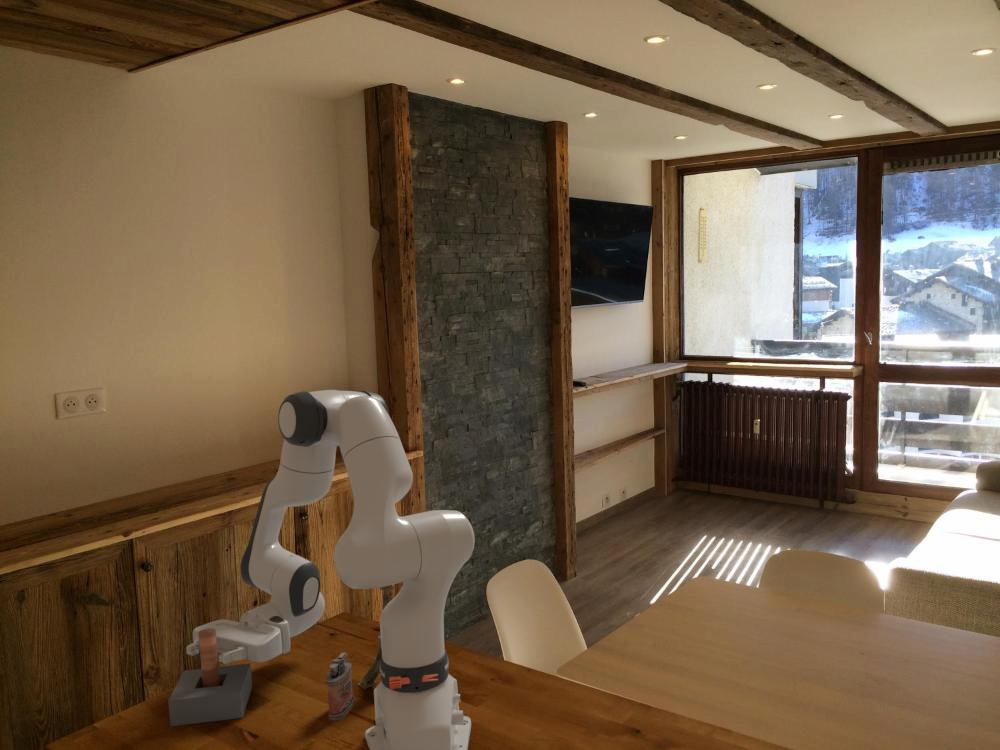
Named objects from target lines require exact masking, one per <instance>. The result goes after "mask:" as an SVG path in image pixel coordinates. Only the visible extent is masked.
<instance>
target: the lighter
mask: <svg viewBox="0 0 1000 750" xmlns="http://www.w3.org/2000/svg"><path fill="white" fill-rule="evenodd" d="M347 660H348V653H346V652H341V653H340V655H339V656H337V658H333V659H332V661H331V664H330V665H329V673H328V674H327V676H326V678H325V683H326V685H327V695H328V696H327V698H328V709H329V710H328V719H329V720H330V719H331V721H339V720H341V719H343V718H344V717H345V716H346V715H347V714H348V713H349V712H350V711H351V710H352V707H353V706H354V704H355V698H354V697H355V696H354V694H353V693H354V692H353V684H352V683H353V682H352V663H351V662H346V661H347Z"/></svg>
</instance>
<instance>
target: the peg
mask: <svg viewBox="0 0 1000 750" xmlns="http://www.w3.org/2000/svg"><path fill="white" fill-rule="evenodd" d="M198 635H199V647H200V650H199V656H200V657H199V658H200V669H201V670H202V681H203V688H205V687H214V686H220V674H219V667H220V666H219V664H220V662H219V652H218V651H217V639H216V629H213V628H208V629H203V630H201V631H199V632H198Z"/></svg>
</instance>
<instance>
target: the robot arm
mask: <svg viewBox="0 0 1000 750" xmlns="http://www.w3.org/2000/svg"><path fill="white" fill-rule="evenodd" d="M389 413H390V412H389V409H388V406H387V403H386V402H385V400H384V398H383V397H382V396H381V395H379V394H378V393H376V392H372V391H367V390H361V391H354V390H337V389H324V390H323V389H322V390H313V391H309V392H308V391H298V392H294V393H292V394H291V393H290V394H289V395H286V397H285V398H284V399H283V400H282V402H281V404H280V407H279V409H278V414H277V415H278V416H277V420H278V421H277V422H278V427H279V432H280V434H281V436H282V437H283V438H284V440H283V444H282V449H281V454H280V459H279V460H280V461H279V466H278V470H277V473H276V475H275V476H273V477H272V478H270V479H269V480H268V482H267V483H266V485H265V487H264V490H263V491H262V494H261V498H260V500H259V505H258V508H257V511H256V516H255V520H254V523H253V527H252V530H251V534H250V537H249V541H248V544H247V545H246V548H245V550H244V553H243V555H242V557H241V559H240V563H239V565H240V566H239V567H240V576H241V578H242V581H243V582H244V583H245V584H246V585H248V586H251V587H253V588H255V589H258V590H261V591H262V592H265V593H267V594H268V595H270V596H271V600H270V601H269V602H267V603H264V604H261V605H259V606H257V607H255V608H253V609H250V610H248V611H245V612H244V613H243V614H242V615H241V617H240V618H239V621H235V620H229V619H222V618H221V619H218V620H214V621H211V622H208V623H204V624H203V625H199V626H197V627H195V628H194V629H193V631H192V642H193V643H191V644H190V643H189V644H188V645H187V646H186V647H185V648H186V649H185V650H186V655H189V656H195V655H198V654H200V647H199V635H198V632H199V631H201V630H203V629H208V628H213V629H216V639H217V651H218V662H219V664H223V665H228V664H230V663H231V662H238V661H243V660H246V661H250V662H254V663H265V662H268V661H271V660H272V659H274V658H277V657H279V656H280V655H284V654H287V653H289V652H290V651H291V638H293V637H296V636H298V635H300V634H302V633H303V632H305V631H307V630H308V629H310V628H311V627H312V626H314V625H315V624H316V623H317V622H319V620H320V619H321V618H322V617H323V615H324V613H325V605H326V604H325V603H326V602H325V598H324V596H323V593H322V592H321V591H320V590H321V573H320V570H319V568H318V566H317V565H316V564H315V563H314V562H312V561H311V560H308V559H307V558H304V557H303V556H301V555H298V554H295V553H293V552H291V551H290V550H287V549H285V548H284V547H283V546H282V545H281V544H280V542H279V536H280V531H281V528H282V524H283V521H284V517H285V514H286V511H287V509H288V508H289V507H290V508H292V507H304V506H307V505H310V504H311V505H312V504H314V503H317V502H319V501H320V500H322V499H323V498H324V497H325V496H326V495H328V493H329V491H330V490H331V487H332V485H333V479H334V472H335V465H336V459H337V458H336V454H337V448H338V447H339V449H340V454H341V457H342V460H343V463H344V466H345V469H346V472H347V476H348V480H349V483H350V487H351V490H352V491H351V492H352V495H353V513H352V516H351V519H350V522H349V523H348V526H347V527H346V529H345V531H344V532H343V533H341V535H340V537H339V539H338V541H337V542H336V545H335V548H334V555H333V562H334V563H333V564H334V567H335V570H336V573H337V575H338V577H339V578H340V580H341V581H342V582H343V583H344V584H345V585H346V586H347V587H349V588H350V589H353V590H364V589H365V590H369V589H380V588H381V587H385V586H389V585H392V586H394V585H396V584H401V583H402V586H401V587H400V590H399V591H398V593H397V594H396V595H395V596H394V597H392V598H393V599H392V600H391V601H390V602H389V603H388V604H387V605H386V606H385V608H384V609H383V608H382V612H381V614H380V618H379V629H380V630H379V631H380V636H381V647H382V656H381V658H380V679H381V681H380V683H379V684H378V685H377V686H376V687H375V688H374V689H373V698H374V699H373V700H374V719H373V724H374V725H373V726H371V727H370V728H368V729H366V730H365V732H364V738H365V741H366V744H367V746H368V749H369V750H468V749H469V742H470V737H471V736H470V735H471V728H472V721H471V720H472V719H471V718H470V717H469V716H467V715H466V716H465V715H464V710H462V709H461V710H460V705H459V703H461V701H462V700H461V693H459V692H458V691H459V690H458V681H457V679H456V678H454V677H453V676H452V675H451V674H450V672H449V669H450V668H449V664H450V663H449V657H448V652H447V651H448V650H447V649H446V648H445V625H444V624H445V623H444V622H445V621H444V620H445V619H444V617H445V606H446V601H447V598H448V595H449V591H450V588H451V587H452V584H453V582H454V580H455V577H456V576H457V575H458V573H459V571H460V570H461V569H462V567H463V566H464V565H465V563H467V561H469V560H470V558H471V557H472V555H473V551H474V549H475V540H476V539H475V531H474V528H473V526H472V524H471V522H470V520H469V519H468V518H467V517H466V515H464V514H463V513H462V512H461V511H459V510H455V509H454V510H453V509H452V510H450V509H441V510H440V509H438V510H437V509H435V510H428V511H423V512H418V513H414V514H409V515H405V516H399V514H398V512H397V507H396V504H397V503H398V502H399V501H401V500H402V499H404V497H405V496H406V495H407V494H408V493H409V491H410V490H411V488H412V485H413V483H414V482H413V481H414V473H413V471H412V468H411V465H410V462H409V459H408V457H407V455H406V452H405V449H404V446H403V443H402V441H401V438H400V435H399V432H398V431H397V429H396V426H395V424H394V422H393V420H392V418H391V417H390V414H389Z"/></svg>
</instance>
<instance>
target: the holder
mask: <svg viewBox="0 0 1000 750" xmlns="http://www.w3.org/2000/svg"><path fill="white" fill-rule="evenodd" d="M219 674H220V686H214V687H205V688H203V681H202V670H201V668H196V669H195V668H194V669H187V670H183V672H182V673H181V675H180V678H179V679H178V680H177V681H178V682H177V683H176V685H175V687H174V688H173V691H172V693H171V694H170V696H169V698H168V701H167V703H168V710H169V711H168V712H169V713H168V714H169V722H170V723H169V724H170V727H177V726H184V725H194V724H202V723H210V722H211V723H212V722H217V721H218V722H220V721H226V720H234V719H235V720H236V719H243V718H244V714H245V712H246V708H247V705H248V702H249V699H250V695H251V693H252V689H253V678H252V667H251V663H250V662H249V663H248V662H247V663H240V664H233V665H232V664H231V665H223V666H219Z"/></svg>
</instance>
